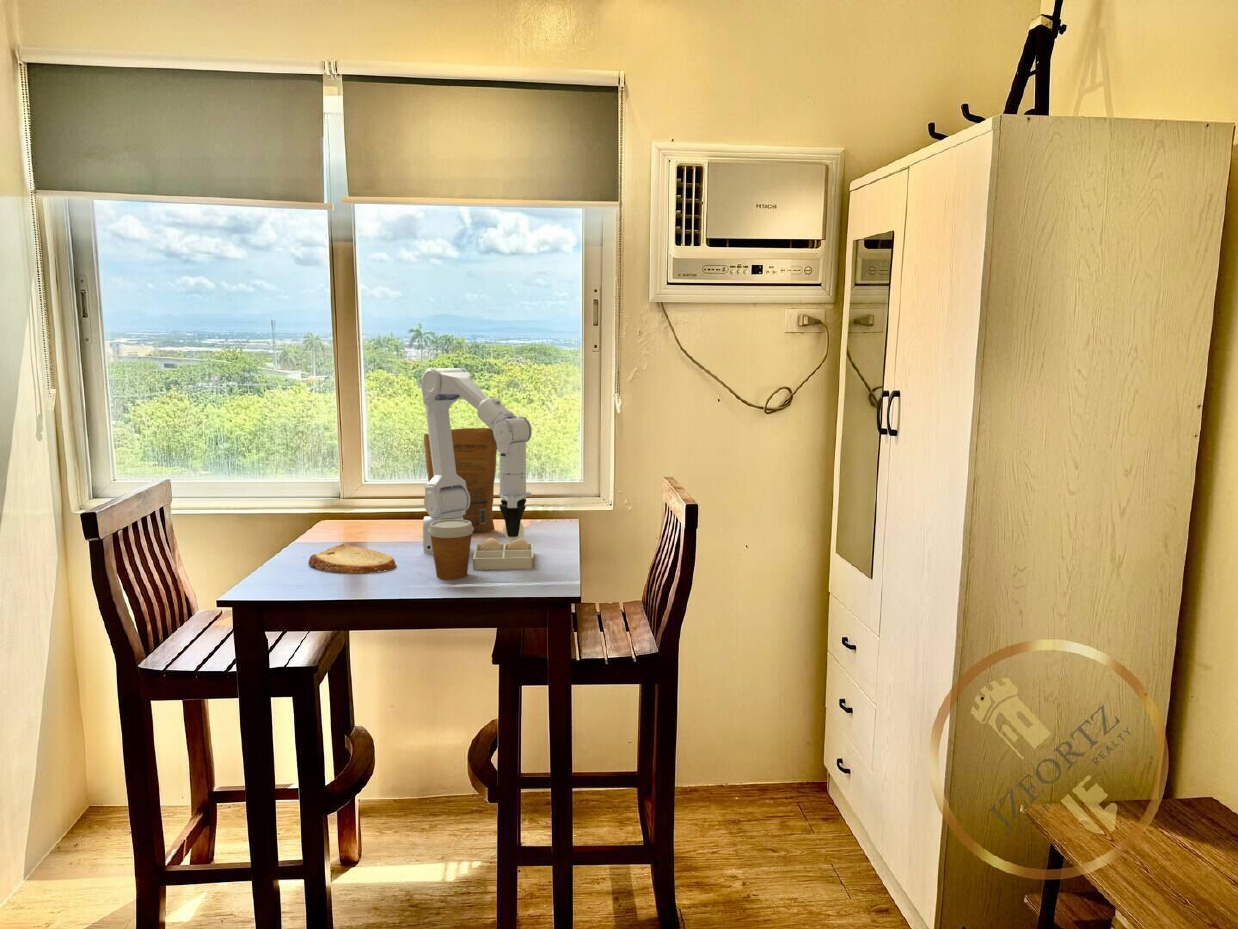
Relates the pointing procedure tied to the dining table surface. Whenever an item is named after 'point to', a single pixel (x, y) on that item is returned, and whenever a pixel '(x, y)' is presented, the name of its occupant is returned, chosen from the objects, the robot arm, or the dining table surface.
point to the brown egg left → (490, 545)
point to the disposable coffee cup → (451, 547)
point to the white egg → (521, 531)
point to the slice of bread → (352, 560)
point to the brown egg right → (518, 544)
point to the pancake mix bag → (473, 472)
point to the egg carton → (503, 558)
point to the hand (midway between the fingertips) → (513, 533)
